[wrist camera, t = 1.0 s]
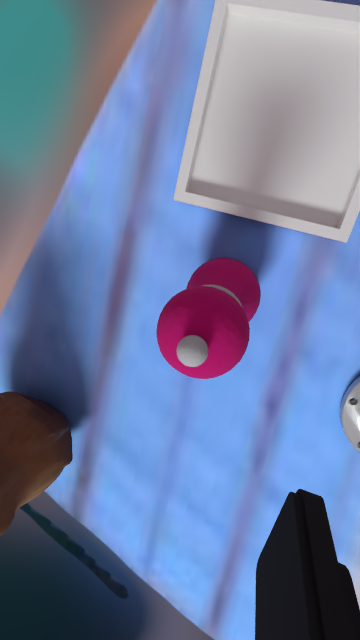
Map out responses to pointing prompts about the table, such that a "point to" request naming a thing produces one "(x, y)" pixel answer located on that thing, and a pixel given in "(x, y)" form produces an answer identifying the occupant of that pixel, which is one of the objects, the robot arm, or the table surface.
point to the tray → (278, 116)
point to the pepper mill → (209, 319)
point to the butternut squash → (29, 451)
